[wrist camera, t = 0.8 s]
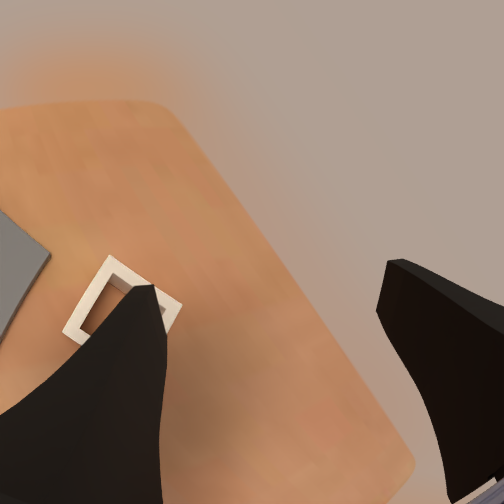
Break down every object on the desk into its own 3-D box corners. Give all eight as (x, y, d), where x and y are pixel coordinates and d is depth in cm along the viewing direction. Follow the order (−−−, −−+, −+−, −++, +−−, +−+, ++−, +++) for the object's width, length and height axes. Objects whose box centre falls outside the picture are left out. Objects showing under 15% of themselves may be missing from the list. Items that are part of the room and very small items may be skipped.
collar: (132, 374, 19) (142, 381, 16) (64, 331, 18) (61, 332, 15) (167, 308, 22) (182, 304, 19) (104, 265, 20) (109, 254, 17)
